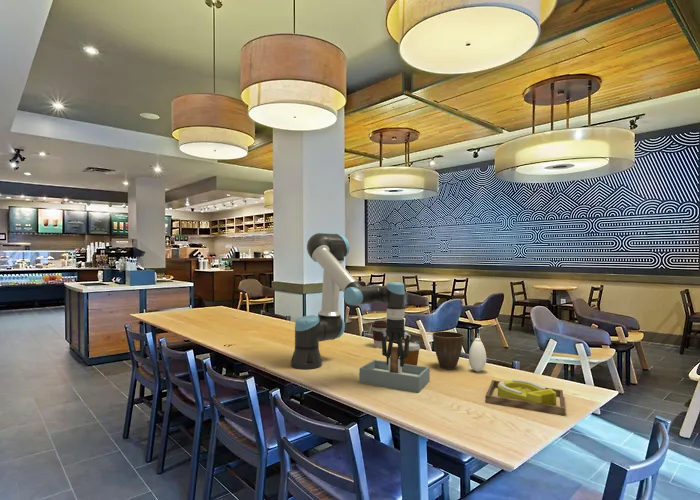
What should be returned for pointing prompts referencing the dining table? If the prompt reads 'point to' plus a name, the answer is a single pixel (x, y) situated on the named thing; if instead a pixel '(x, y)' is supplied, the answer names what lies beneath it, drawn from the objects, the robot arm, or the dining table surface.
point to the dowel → (394, 359)
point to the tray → (395, 376)
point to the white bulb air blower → (477, 355)
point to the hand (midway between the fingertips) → (395, 373)
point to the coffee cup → (377, 329)
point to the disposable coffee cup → (412, 354)
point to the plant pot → (448, 348)
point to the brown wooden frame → (525, 404)
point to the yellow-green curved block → (526, 392)
